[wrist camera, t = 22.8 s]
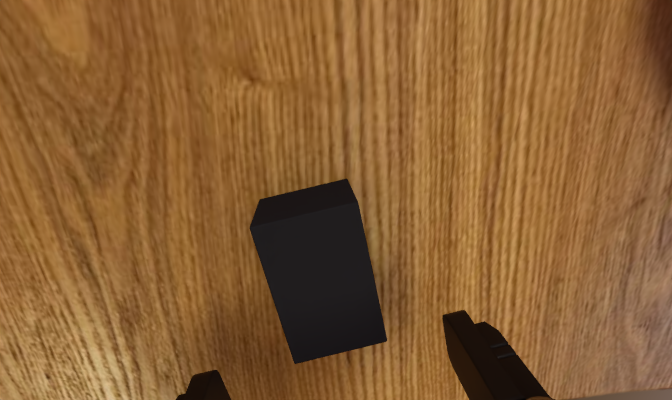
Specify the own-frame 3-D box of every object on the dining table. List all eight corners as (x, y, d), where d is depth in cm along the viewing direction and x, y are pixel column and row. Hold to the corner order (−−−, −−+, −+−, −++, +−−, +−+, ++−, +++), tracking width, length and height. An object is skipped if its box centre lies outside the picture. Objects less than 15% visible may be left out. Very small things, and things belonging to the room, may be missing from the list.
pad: (295, 316, 22) (294, 364, 18) (259, 199, 19) (249, 227, 16) (373, 297, 22) (387, 341, 18) (347, 178, 19) (358, 201, 16)
